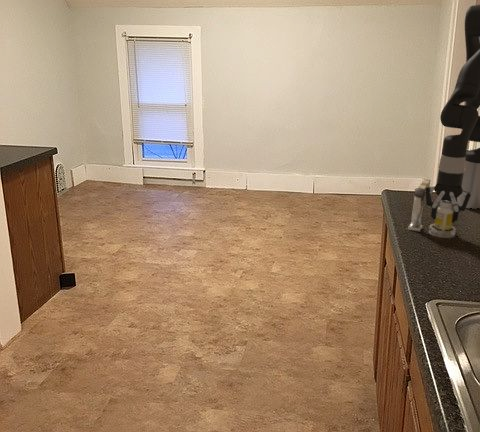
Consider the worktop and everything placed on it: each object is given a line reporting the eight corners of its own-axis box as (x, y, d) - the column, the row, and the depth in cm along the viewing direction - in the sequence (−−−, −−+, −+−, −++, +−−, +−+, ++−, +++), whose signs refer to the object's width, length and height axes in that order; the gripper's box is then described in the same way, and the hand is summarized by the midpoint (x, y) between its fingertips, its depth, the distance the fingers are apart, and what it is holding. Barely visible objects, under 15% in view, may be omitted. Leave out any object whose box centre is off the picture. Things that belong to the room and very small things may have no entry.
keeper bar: (423, 197, 181) (424, 191, 180) (413, 196, 182) (414, 190, 181) (431, 185, 194) (432, 180, 193) (421, 184, 195) (422, 178, 195)
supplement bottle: (451, 228, 184) (455, 200, 181) (451, 234, 179) (455, 205, 176) (433, 226, 186) (437, 198, 183) (433, 231, 181) (437, 203, 178)
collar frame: (411, 224, 191) (415, 192, 187) (456, 231, 185) (461, 198, 181) (406, 231, 184) (410, 198, 180) (453, 239, 178) (458, 205, 174)
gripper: (477, 169, 176) (468, 220, 182) (429, 163, 182) (422, 213, 188) (474, 175, 170) (466, 227, 175) (425, 169, 176) (418, 220, 181)
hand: (443, 220), depth 182 cm, fingers closed on supplement bottle, 5 cm apart
